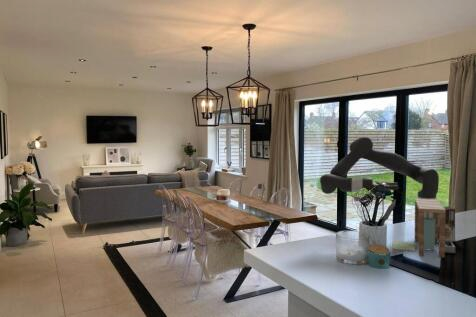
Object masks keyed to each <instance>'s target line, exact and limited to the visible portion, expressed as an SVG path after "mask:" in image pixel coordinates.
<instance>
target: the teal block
mask: <svg viewBox="0 0 476 317" xmlns="http://www.w3.org/2000/svg"><path fill="white" fill-rule="evenodd" d="M424 249H431V250H430V251H435V250H436V243H435V219H434V218H427V217H424Z"/></svg>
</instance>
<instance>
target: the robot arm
mask: <svg viewBox="0 0 476 317" xmlns="http://www.w3.org/2000/svg"><path fill="white" fill-rule="evenodd" d="M348 147H349V148H348V149H349V153H347V154H346V155H345V156H344V157H343V158H341V159H340V160H339V161H338V162H337V163H336V164H335V165H334V166H333V167H332V168H331V170H330V173H326V174H323V175H322V176H320V178H319V183H320V189H321V192H323V194H326V195H330V194H332V193H334V192H335V191H336V190H337V189H339V190H340V191H341V192H344V193H345V192H346V193H347V192H348V193H356V192H357V191H359V190H360V189H362V188H363V187H364V188H366V189H367V190H368V191H369V190H371V189H372V188H373V187H374V188H375V187H376V185H377V186H378V185H379V184H382V185H384V186H385V187H386V188H387V189H388V191H398V190H399V189H400V188H399V187H400V186H399V183H398V182H389V181H386V180H385V181H384V180H383V181H379V180H375V181H374V182H373V177H359V176H358V177H357V176H356V177H345V176H346V175H347V174H348V172H349V171H350V170H351V169H352V168H353V167H354V166H355V165H356V164H357V163H358V162H359V161H360V160H361V159H364V160H365V161H369V162H372V163H374V164H377V165H380V166H382V167H384V168H386V169H388V170H390V171H393V172H394V173H397V174H398V173H399V174H401V175H404V176H407V177H408V178H410V179H412V180H414V181H415V182H417V183H419V184H421V185H422V186H421V189H420V190H418V192H417V199H435V200H437V194H438V192H439V182H440V179H439V178H440V177H439V173H438V172H437V170H435V169H433V168H427V167H422V166H418V165H415V164H413V163H411V162H410V161H409V160H407V159H406V158H405V157H404V156H402V155H400V154H399V153H398V154H397V153H395V152H393V151H389V150H387V151H385V150H379V149H374V148H373V147H374V142H373V140H372V139H371V138H370V137H369V136H361V137H359V138H357V139H355V140H354V141H352V142H351V143H350V144H349V146H348ZM372 190H373V189H372ZM424 217H427V218H431V212H424Z"/></svg>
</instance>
